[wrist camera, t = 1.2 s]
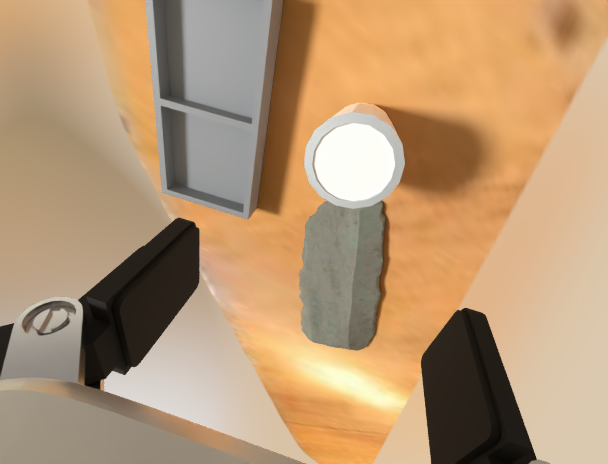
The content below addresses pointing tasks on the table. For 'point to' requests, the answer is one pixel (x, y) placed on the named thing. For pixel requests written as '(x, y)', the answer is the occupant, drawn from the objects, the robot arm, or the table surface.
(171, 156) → the tray
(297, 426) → the table surface
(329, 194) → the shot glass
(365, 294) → the stone slab
